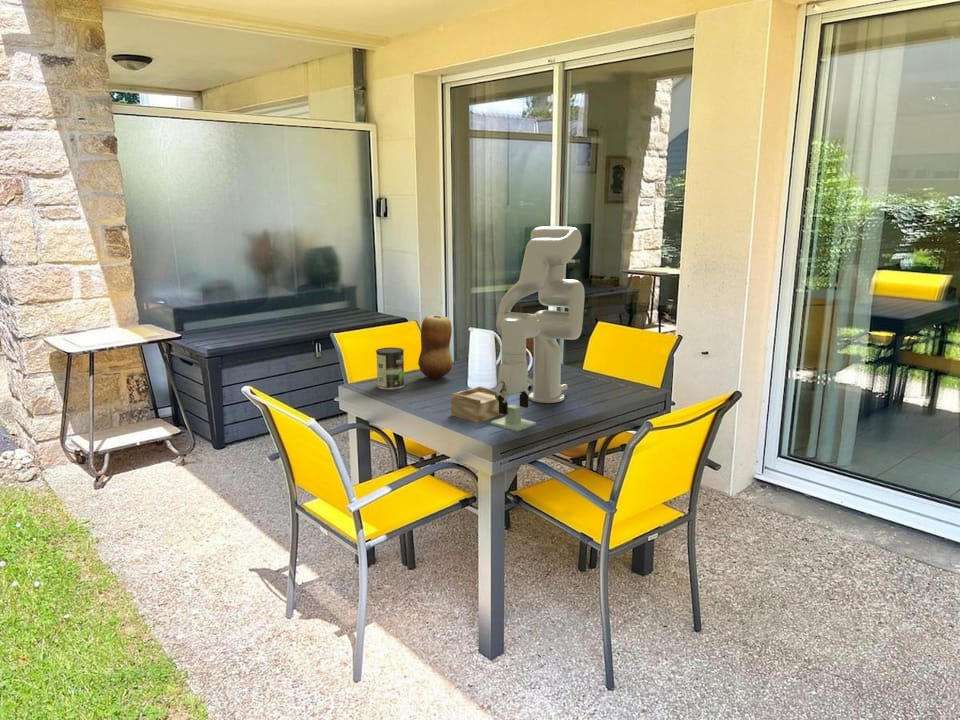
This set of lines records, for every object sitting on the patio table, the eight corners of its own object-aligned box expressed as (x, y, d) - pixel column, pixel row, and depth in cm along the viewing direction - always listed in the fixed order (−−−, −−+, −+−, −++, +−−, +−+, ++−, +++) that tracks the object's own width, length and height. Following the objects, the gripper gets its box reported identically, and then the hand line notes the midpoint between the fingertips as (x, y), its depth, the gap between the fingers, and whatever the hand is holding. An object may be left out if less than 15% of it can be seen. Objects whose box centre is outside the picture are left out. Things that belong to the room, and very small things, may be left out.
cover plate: (509, 418, 230) (509, 400, 228) (535, 425, 222) (535, 407, 221) (490, 425, 223) (490, 406, 222) (517, 432, 216) (517, 413, 214)
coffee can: (408, 383, 271) (407, 347, 268) (398, 390, 262) (397, 353, 258) (383, 382, 274) (382, 346, 271) (372, 388, 264) (371, 351, 261)
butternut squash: (451, 382, 273) (451, 318, 267) (417, 382, 273) (415, 318, 267) (453, 374, 286) (452, 312, 281) (420, 374, 286) (418, 313, 281)
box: (481, 406, 242) (481, 385, 240) (506, 413, 234) (507, 392, 232) (451, 414, 232) (450, 393, 230) (477, 422, 224) (477, 401, 222)
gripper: (523, 350, 226) (522, 402, 231) (485, 360, 214) (485, 414, 219) (541, 354, 221) (540, 406, 225) (503, 364, 209) (503, 419, 213)
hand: (513, 410), depth 222 cm, fingers open, 9 cm apart
